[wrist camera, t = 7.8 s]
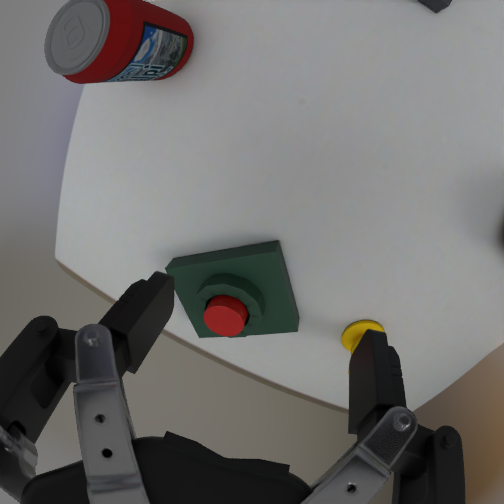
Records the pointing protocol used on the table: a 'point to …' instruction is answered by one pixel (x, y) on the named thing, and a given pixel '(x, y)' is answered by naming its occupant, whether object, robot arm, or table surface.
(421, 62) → the table surface
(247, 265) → the button box
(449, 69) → the table surface
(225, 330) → the red button
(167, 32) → the beverage can
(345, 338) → the candle
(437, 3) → the plate
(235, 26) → the table surface
